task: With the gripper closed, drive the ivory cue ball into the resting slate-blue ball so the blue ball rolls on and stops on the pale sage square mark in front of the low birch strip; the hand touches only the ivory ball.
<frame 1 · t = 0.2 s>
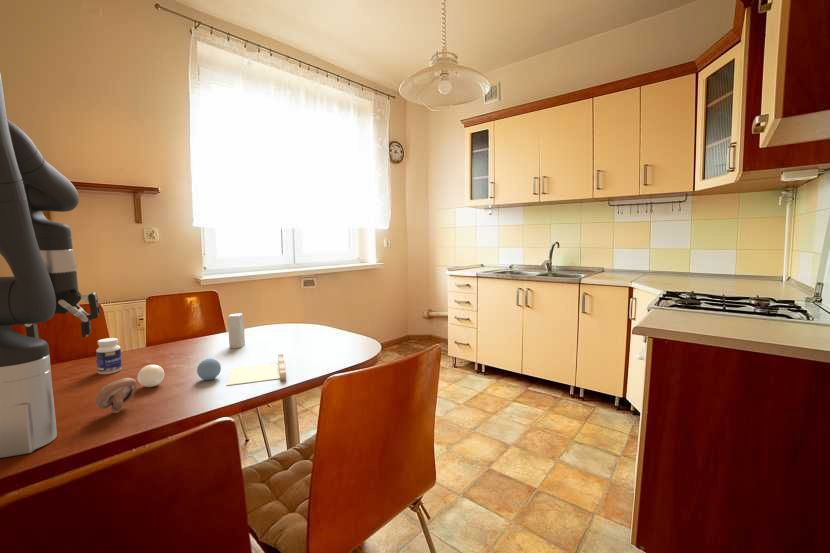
hand: (61, 339, 84), 17 cm above the table, tool pointing down, fingers open, 8 cm apart
blue ball: (209, 369, 106), on the table
stopper strip: (281, 370, 113), on the table
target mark: (254, 373, 110), on the table
cue ball: (151, 375, 100), on the table
mushroom: (118, 412, 86), on the table
skincare box: (237, 346, 139), on the table
pill bottle: (110, 372, 112), on the table
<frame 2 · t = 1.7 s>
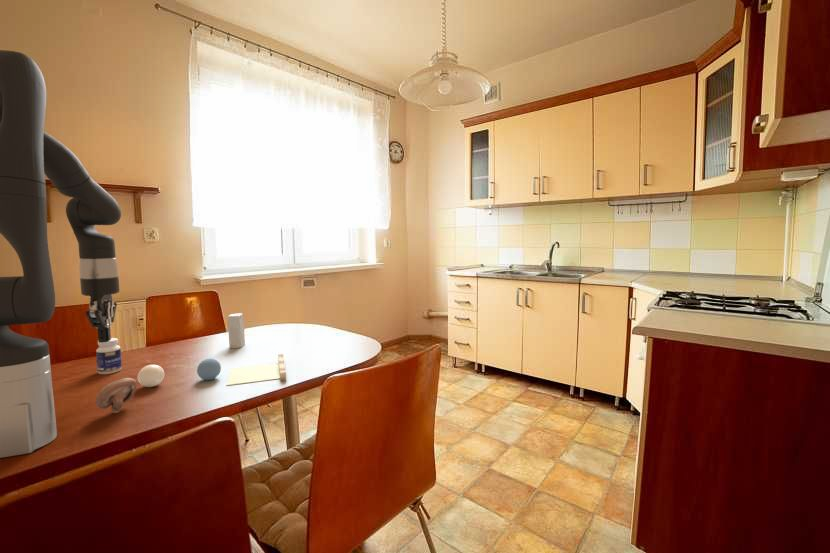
hand: (104, 341, 96), 14 cm above the table, tool pointing down, fingers closed
nothing on the table moved.
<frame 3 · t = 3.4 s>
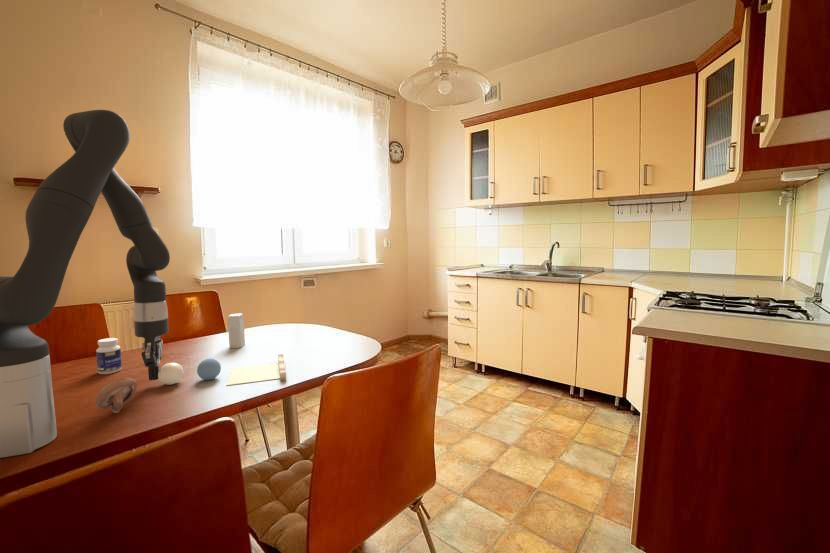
hand: (154, 379, 101), 2 cm above the table, tool pointing down, fingers closed
cue ball: (170, 373, 102), on the table, touching gripper
everything else where it was.
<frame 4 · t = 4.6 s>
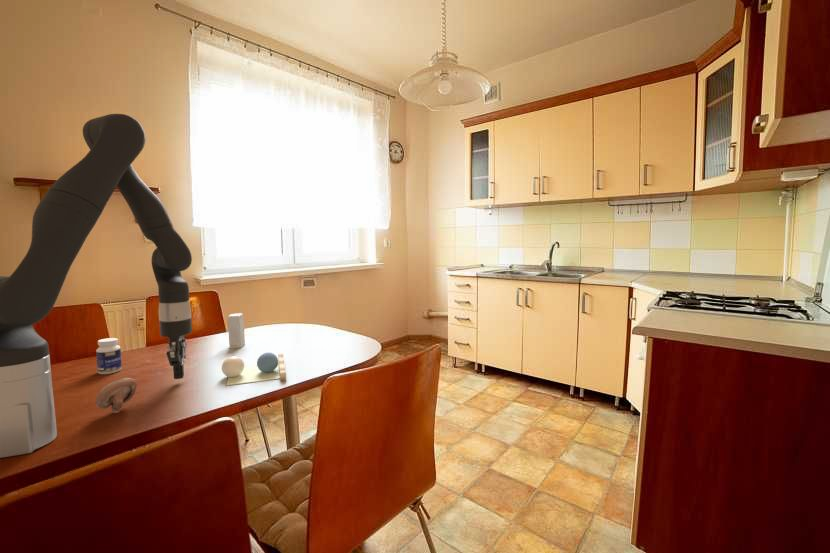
hand: (179, 377, 103), 2 cm above the table, tool pointing down, fingers closed
blue ball: (267, 362, 112), on the table
cue ball: (233, 366, 108), on the table
everything else where it was.
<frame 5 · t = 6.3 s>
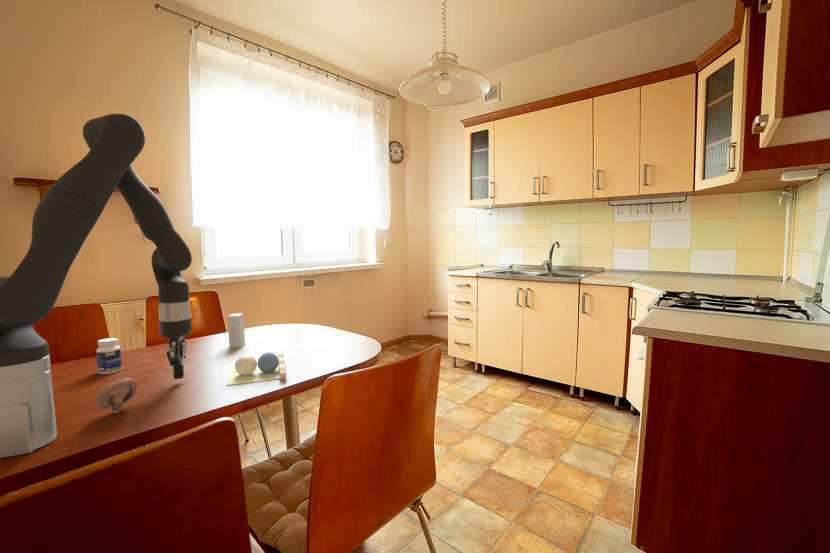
hand: (179, 377, 103), 2 cm above the table, tool pointing down, fingers closed
cue ball: (246, 365, 109), on the table
everything else where it was.
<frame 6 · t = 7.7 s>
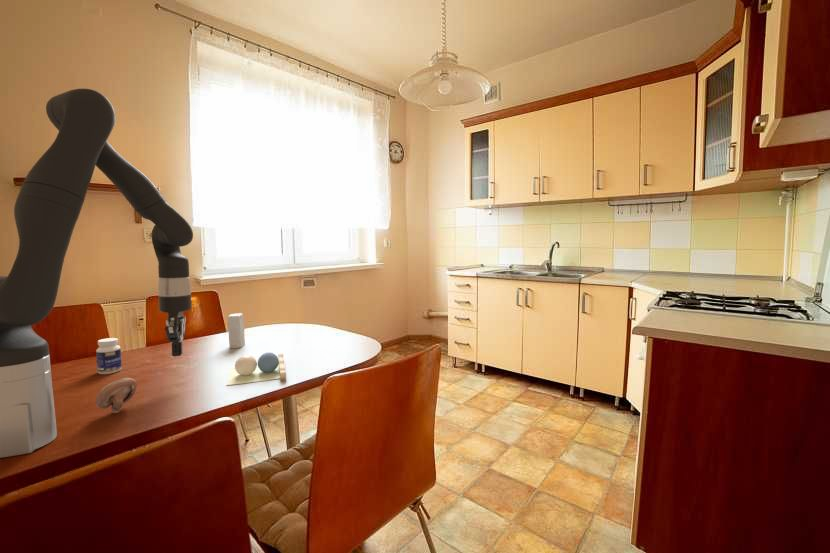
hand: (177, 355, 102), 8 cm above the table, tool pointing down, fingers closed
nothing on the table moved.
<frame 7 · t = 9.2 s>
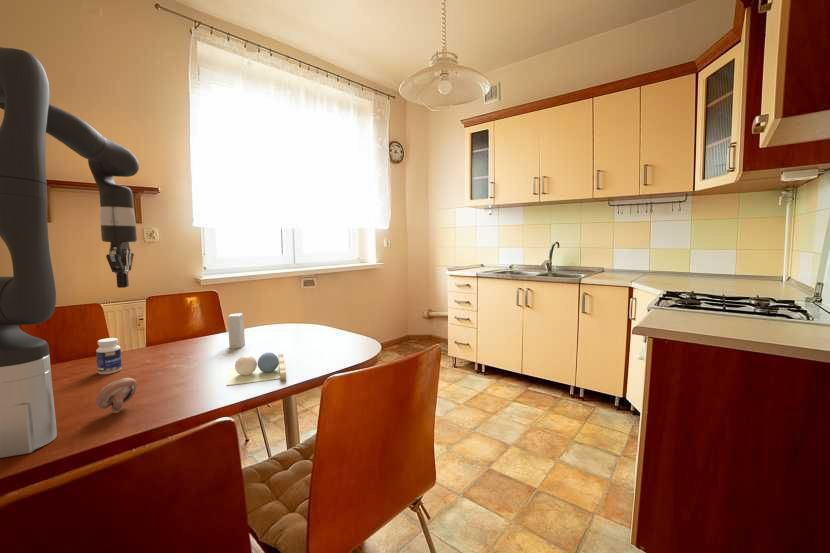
hand: (123, 287, 102), 27 cm above the table, tool pointing down, fingers closed
nothing on the table moved.
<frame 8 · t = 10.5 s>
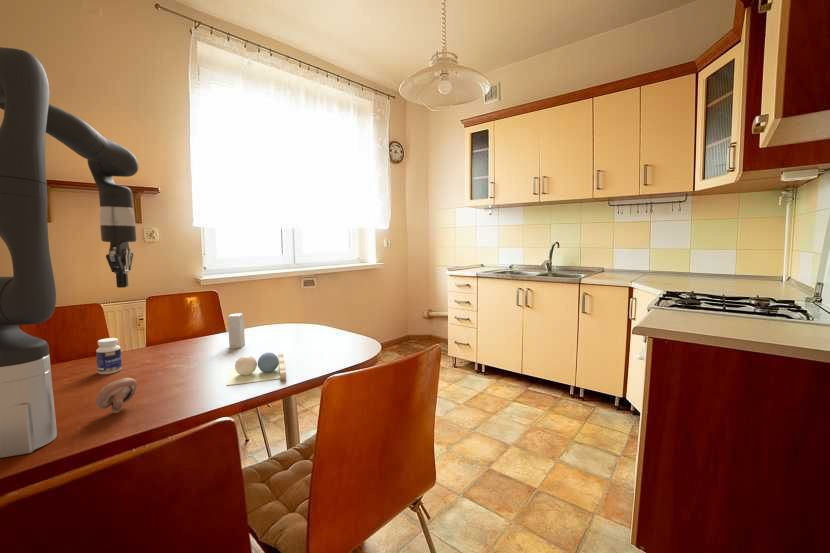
hand: (122, 287, 102), 27 cm above the table, tool pointing down, fingers closed
nothing on the table moved.
at the end: blue ball 3.9 cm from the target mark (horizontally); blue ball never touched the robot; cue ball first touched blue ball at 3.6 s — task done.
